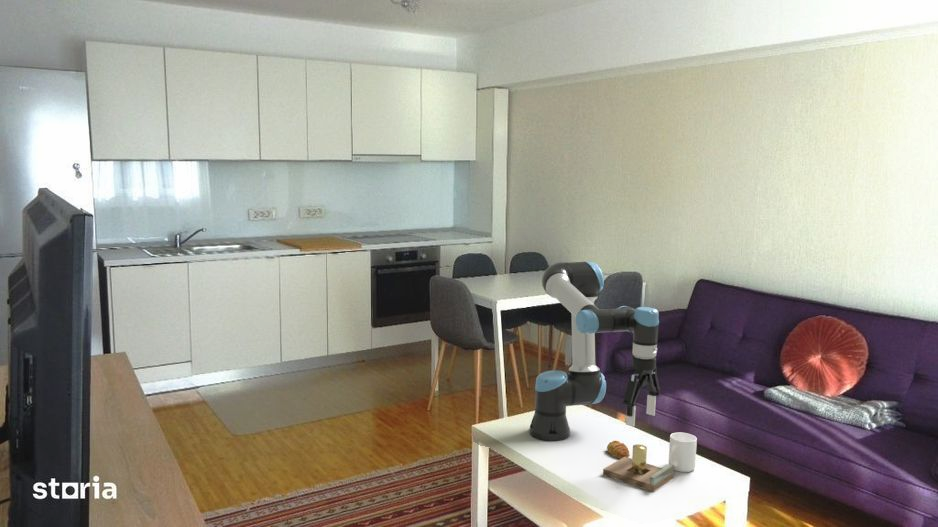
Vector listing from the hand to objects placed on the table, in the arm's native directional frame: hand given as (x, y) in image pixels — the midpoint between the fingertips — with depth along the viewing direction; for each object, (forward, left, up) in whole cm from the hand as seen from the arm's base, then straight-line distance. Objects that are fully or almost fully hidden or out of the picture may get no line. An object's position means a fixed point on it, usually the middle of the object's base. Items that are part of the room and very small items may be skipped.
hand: (640, 419), depth 230 cm
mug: (+7, +15, -19) cm, 25 cm away
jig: (0, 0, -19) cm, 19 cm away
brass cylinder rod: (0, 0, -19) cm, 19 cm away
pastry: (-14, +12, -20) cm, 27 cm away
